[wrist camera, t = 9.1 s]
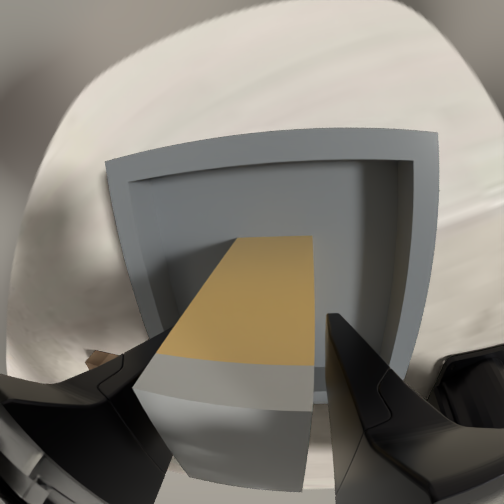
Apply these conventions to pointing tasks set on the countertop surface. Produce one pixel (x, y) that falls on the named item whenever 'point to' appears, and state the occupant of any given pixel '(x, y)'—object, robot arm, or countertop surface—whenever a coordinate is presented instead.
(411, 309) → the parts tray
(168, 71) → the countertop surface
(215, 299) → the grey and yellow block
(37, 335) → the countertop surface
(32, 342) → the countertop surface
